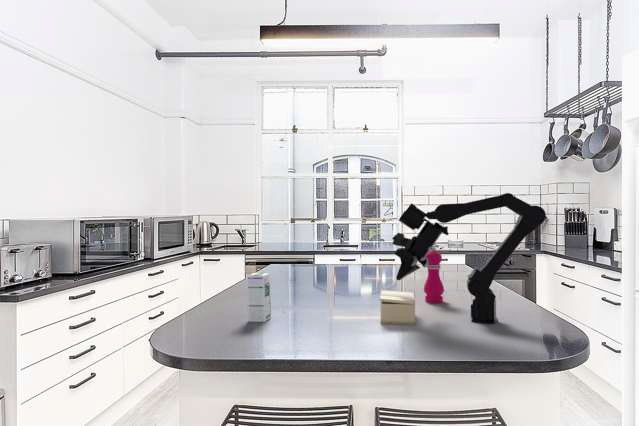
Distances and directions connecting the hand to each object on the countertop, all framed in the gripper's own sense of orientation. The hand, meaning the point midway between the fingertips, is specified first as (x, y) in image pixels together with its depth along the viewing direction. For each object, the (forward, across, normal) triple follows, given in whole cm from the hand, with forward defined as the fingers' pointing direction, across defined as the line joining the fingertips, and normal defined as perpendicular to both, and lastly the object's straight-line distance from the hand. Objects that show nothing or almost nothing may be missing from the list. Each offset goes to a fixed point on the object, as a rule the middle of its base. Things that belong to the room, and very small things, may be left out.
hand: (397, 279), depth 146 cm
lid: (+4, +2, +4) cm, 6 cm away
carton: (+10, +1, +7) cm, 12 cm away
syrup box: (+34, +19, -23) cm, 45 cm away
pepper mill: (+4, -30, +8) cm, 31 cm away
